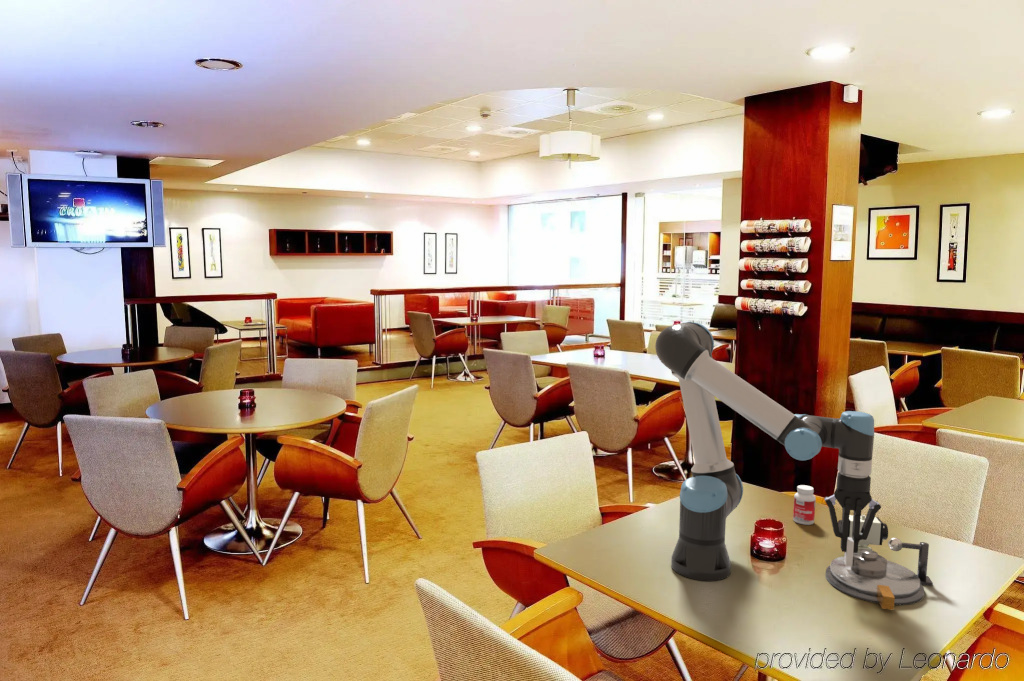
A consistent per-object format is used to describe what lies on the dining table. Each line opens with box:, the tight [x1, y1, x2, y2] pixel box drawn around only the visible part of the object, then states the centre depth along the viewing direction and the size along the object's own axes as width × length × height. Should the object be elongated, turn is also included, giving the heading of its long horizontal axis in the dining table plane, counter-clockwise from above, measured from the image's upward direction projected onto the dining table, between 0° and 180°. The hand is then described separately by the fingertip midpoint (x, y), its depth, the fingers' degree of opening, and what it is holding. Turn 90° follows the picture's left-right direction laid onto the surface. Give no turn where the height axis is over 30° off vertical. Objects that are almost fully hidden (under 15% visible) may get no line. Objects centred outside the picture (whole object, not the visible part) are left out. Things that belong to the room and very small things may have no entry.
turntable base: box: [825, 565, 925, 606], centre depth 174 cm, size 22×22×1 cm
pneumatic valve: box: [837, 514, 889, 552], centre depth 189 cm, size 6×12×12 cm, turn 78°
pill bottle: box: [792, 484, 817, 526], centre depth 215 cm, size 6×6×11 cm
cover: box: [851, 549, 888, 579], centre depth 174 cm, size 8×8×5 cm
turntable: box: [829, 555, 920, 611], centre depth 171 cm, size 20×26×3 cm
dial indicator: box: [887, 537, 934, 587], centre depth 176 cm, size 10×4×11 cm, turn 73°
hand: (848, 563), depth 175 cm, fingers closed
